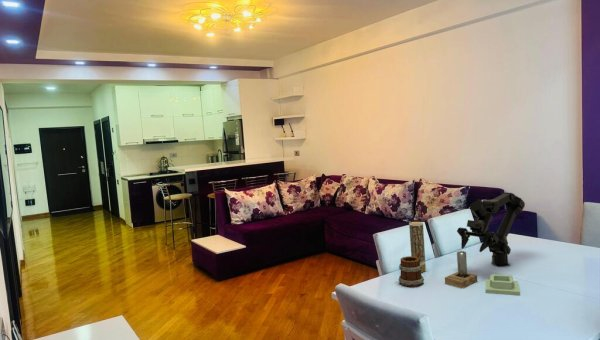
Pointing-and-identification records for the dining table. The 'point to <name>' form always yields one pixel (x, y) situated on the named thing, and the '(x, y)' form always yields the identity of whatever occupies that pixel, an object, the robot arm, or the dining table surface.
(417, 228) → the bark textured cylinder
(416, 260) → the mug
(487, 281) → the socket stand
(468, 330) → the dining table surface
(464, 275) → the grey glass peg
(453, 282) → the wooden rectangular frame
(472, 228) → the robot arm
